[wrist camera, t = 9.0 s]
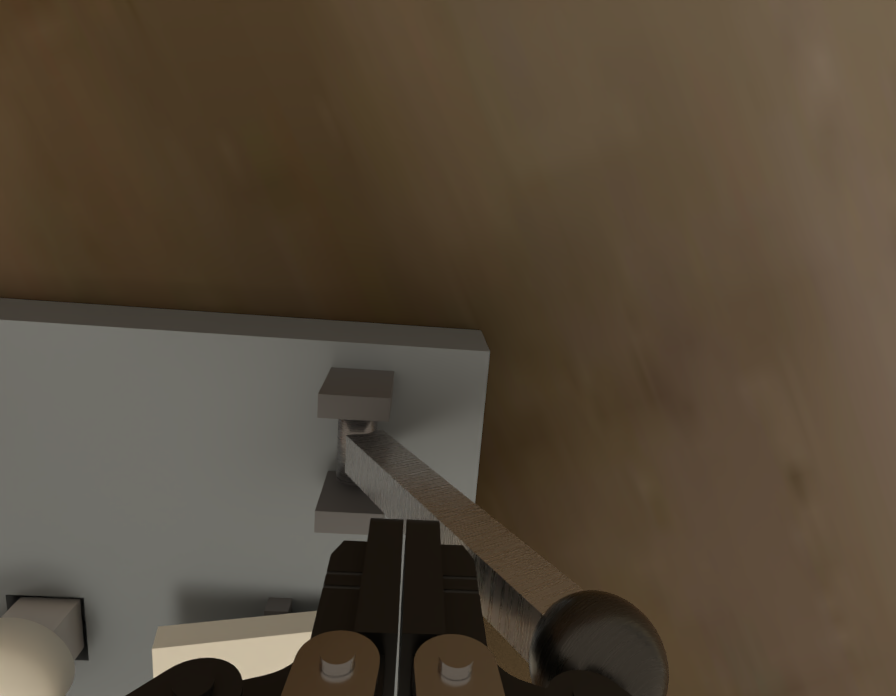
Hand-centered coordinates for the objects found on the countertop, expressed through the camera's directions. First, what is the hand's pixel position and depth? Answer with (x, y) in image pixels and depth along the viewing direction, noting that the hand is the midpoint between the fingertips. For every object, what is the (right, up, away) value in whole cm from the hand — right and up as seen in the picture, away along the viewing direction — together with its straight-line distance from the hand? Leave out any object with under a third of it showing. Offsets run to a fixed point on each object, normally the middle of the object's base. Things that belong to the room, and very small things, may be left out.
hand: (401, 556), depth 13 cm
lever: (-2, +2, +6) cm, 6 cm away
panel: (-9, -1, +10) cm, 14 cm away
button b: (-13, -5, +8) cm, 16 cm away
